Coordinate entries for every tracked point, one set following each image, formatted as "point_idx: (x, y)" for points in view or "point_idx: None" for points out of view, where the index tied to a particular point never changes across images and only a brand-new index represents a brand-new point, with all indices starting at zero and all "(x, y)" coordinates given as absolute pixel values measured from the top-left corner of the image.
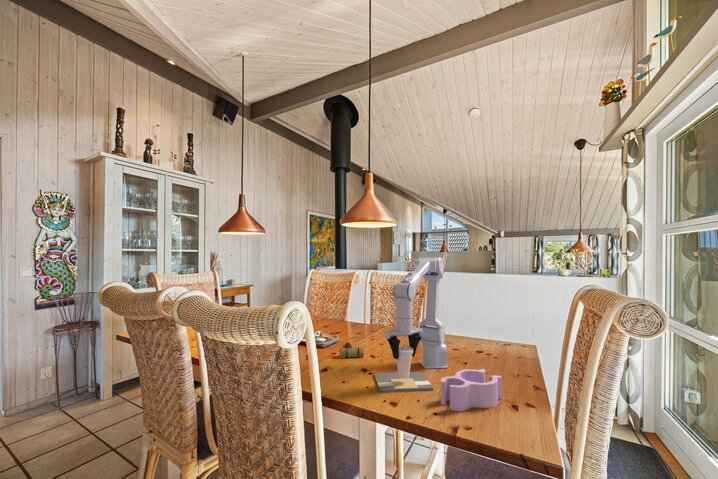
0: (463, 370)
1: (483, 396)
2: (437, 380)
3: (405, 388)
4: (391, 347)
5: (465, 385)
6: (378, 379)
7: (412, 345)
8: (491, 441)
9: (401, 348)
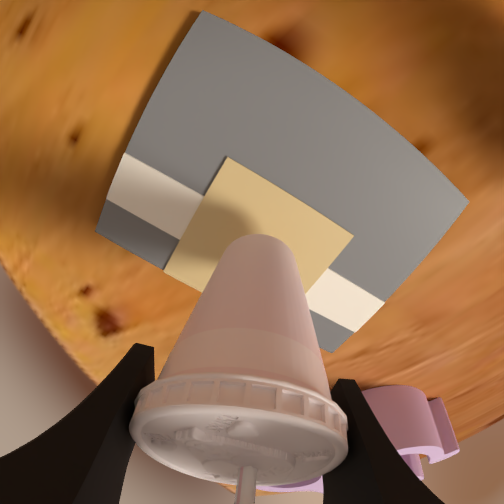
0: (415, 449)
1: None
2: (439, 294)
3: None
4: (76, 419)
5: (287, 490)
6: (159, 110)
7: (340, 488)
8: None
9: (201, 456)
